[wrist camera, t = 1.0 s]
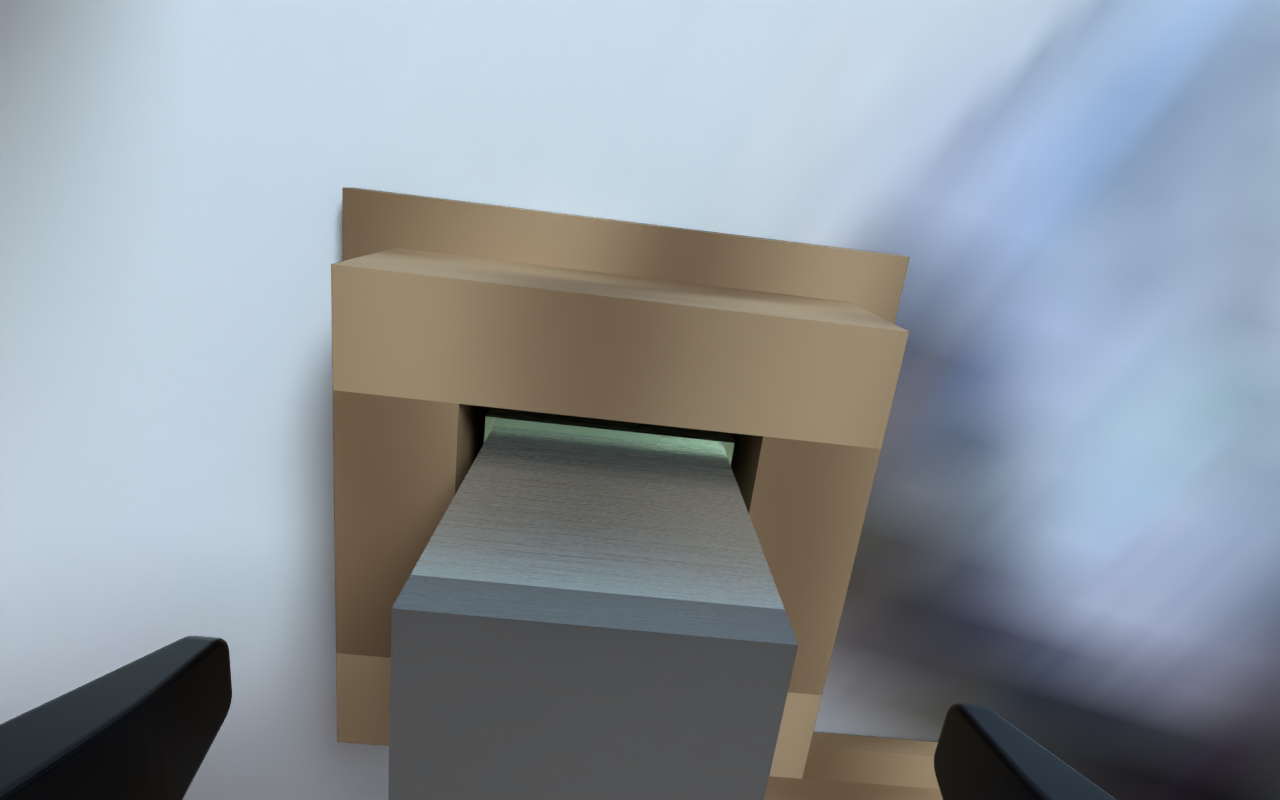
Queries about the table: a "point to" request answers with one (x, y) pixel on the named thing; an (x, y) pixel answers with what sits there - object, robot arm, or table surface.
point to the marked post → (590, 624)
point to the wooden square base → (861, 770)
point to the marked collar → (600, 393)
